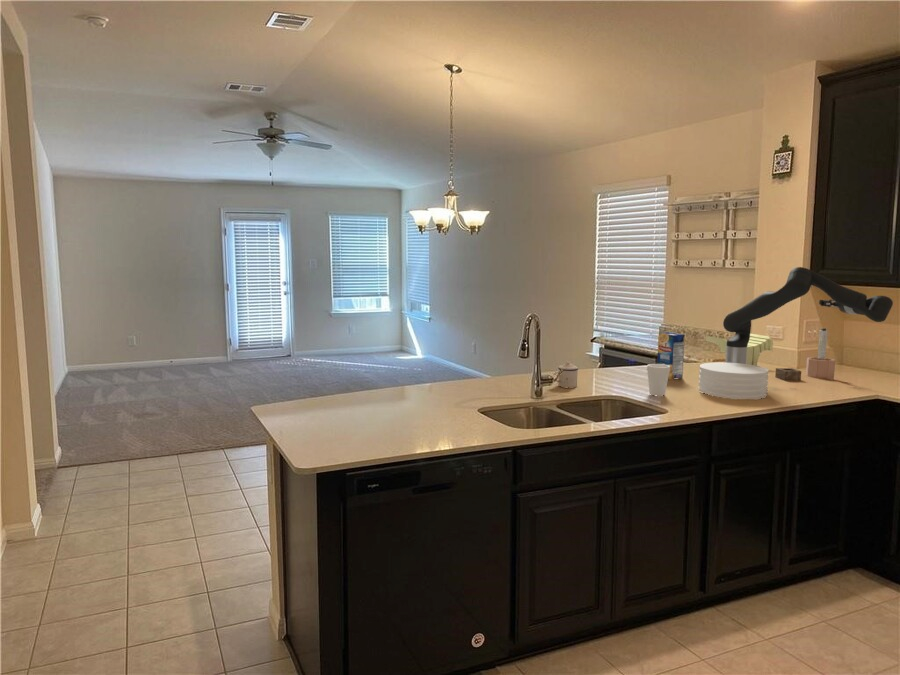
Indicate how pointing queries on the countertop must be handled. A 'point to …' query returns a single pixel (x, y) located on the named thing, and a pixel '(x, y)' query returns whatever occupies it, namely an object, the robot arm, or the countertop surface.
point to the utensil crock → (820, 368)
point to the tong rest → (788, 374)
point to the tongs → (822, 344)
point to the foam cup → (658, 378)
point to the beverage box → (671, 352)
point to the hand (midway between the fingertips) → (829, 302)
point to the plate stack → (733, 380)
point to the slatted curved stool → (753, 348)
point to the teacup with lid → (567, 375)
